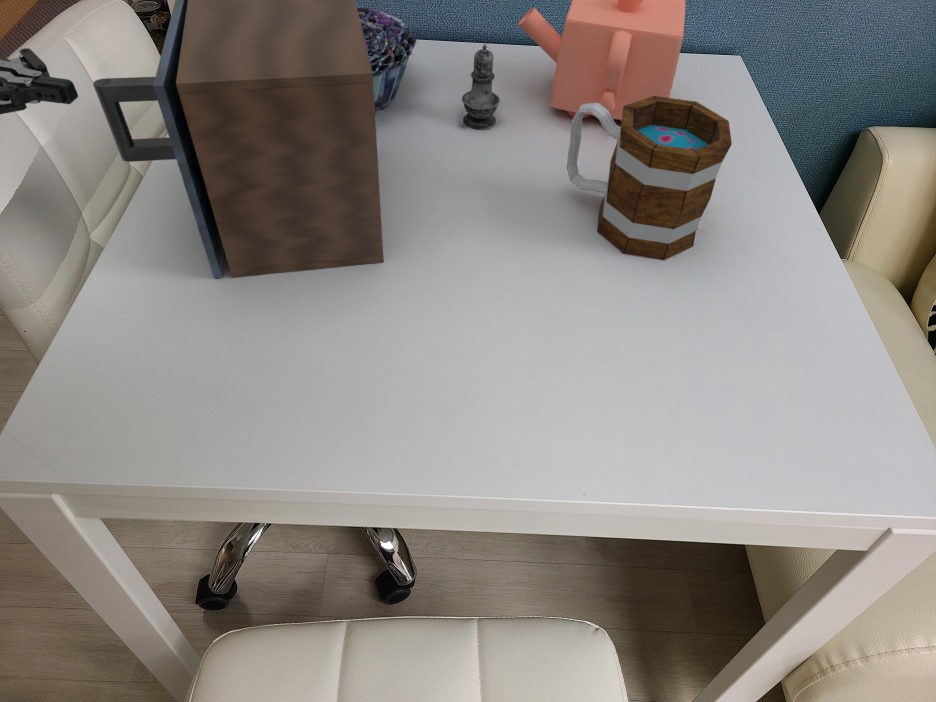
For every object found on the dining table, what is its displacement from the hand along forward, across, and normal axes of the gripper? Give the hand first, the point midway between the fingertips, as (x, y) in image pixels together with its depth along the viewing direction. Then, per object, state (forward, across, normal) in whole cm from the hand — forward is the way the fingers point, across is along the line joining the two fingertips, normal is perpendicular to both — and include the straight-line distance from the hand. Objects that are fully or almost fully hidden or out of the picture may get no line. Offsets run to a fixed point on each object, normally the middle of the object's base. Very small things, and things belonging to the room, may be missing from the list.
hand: (72, 92), depth 75 cm
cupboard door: (+10, +2, +16) cm, 19 cm away
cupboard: (+22, +6, +16) cm, 28 cm away
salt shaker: (+42, +34, +16) cm, 56 cm away
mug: (+65, +14, +16) cm, 68 cm away
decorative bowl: (+17, +36, +16) cm, 43 cm away
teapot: (+58, +44, +16) cm, 75 cm away
